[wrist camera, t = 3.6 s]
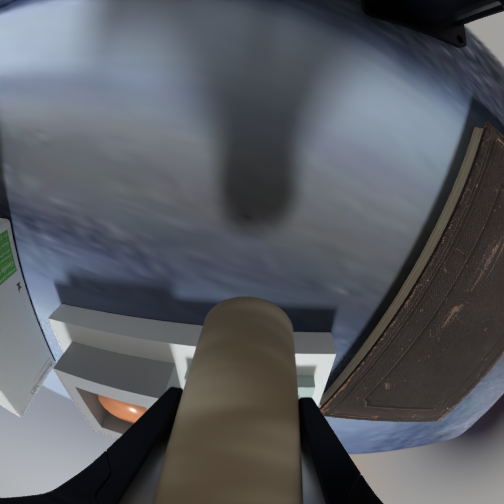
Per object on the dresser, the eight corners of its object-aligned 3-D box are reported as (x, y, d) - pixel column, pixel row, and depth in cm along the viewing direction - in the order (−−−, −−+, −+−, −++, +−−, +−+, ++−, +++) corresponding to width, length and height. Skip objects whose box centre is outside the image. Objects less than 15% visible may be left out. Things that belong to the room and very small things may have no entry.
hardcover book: (313, 393, 21) (316, 415, 19) (465, 119, 11) (489, 121, 9) (436, 405, 22) (442, 421, 20) (558, 222, 13) (573, 231, 11)
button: (148, 388, 17) (144, 398, 16) (160, 419, 18) (157, 429, 18) (95, 374, 17) (90, 384, 16) (112, 407, 19) (108, 416, 18)
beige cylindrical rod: (298, 299, 11) (321, 591, 2) (287, 365, 12) (289, 581, 3) (200, 293, 11) (111, 565, 2) (206, 360, 12) (159, 568, 3)
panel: (330, 332, 17) (344, 392, 13) (302, 425, 22) (304, 470, 18) (61, 303, 18) (26, 343, 14) (103, 397, 23) (85, 433, 19)
